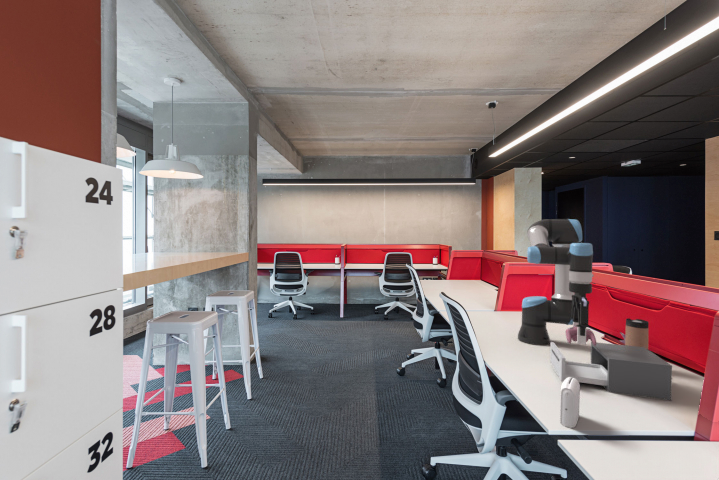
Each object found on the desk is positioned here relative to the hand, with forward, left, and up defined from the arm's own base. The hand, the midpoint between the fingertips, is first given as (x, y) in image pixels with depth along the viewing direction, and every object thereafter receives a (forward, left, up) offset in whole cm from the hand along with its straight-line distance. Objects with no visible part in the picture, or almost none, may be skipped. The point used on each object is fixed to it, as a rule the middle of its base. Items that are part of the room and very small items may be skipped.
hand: (579, 341), depth 131 cm
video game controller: (0, 0, -1) cm, 1 cm away
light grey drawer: (+1, 0, -13) cm, 13 cm away
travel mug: (+27, +22, -15) cm, 38 cm away
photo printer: (-11, -36, -15) cm, 41 cm away
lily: (+31, +39, -15) cm, 52 cm away
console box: (+16, 0, -15) cm, 22 cm away
